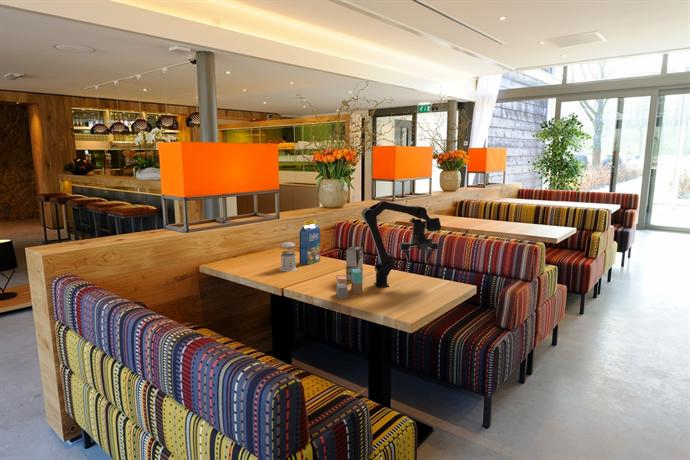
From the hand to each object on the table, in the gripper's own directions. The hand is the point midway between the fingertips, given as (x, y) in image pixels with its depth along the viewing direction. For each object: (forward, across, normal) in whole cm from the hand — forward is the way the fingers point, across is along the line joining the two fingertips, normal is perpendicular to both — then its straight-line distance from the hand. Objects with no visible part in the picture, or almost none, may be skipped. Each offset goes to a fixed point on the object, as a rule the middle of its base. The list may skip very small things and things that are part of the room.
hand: (417, 262), depth 224 cm
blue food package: (+11, -49, +50) cm, 71 cm away
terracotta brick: (+11, -38, 0) cm, 40 cm away
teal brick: (+6, -32, -8) cm, 34 cm away
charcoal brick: (+11, -40, -14) cm, 44 cm away
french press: (+11, -62, +35) cm, 72 cm away
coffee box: (+11, -29, +14) cm, 34 cm away
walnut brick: (+11, -32, -8) cm, 35 cm away
